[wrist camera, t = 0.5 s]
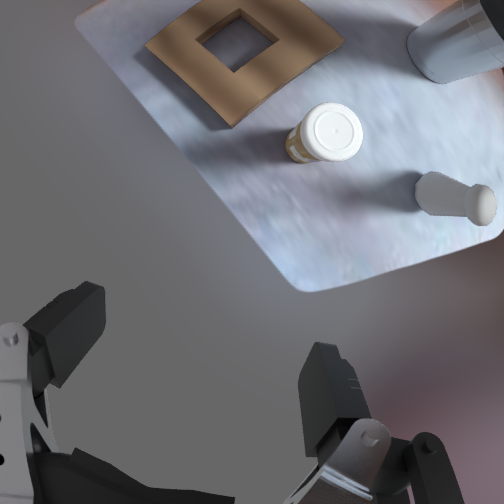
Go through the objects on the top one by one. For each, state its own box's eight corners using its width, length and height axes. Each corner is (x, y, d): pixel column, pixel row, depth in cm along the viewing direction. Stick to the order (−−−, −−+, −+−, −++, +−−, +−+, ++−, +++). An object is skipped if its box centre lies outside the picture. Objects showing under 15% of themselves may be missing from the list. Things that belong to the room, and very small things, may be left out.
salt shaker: (426, 220, 33) (486, 247, 20) (401, 194, 32) (463, 211, 19) (446, 189, 31) (509, 204, 19) (422, 161, 30) (487, 166, 18)
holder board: (254, -21, 23) (254, -30, 20) (339, 47, 26) (345, 40, 24) (151, 52, 27) (144, 45, 24) (232, 128, 30) (230, 125, 28)
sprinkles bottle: (291, 167, 31) (314, 168, 18) (279, 131, 30) (295, 108, 17) (327, 158, 31) (371, 154, 18) (316, 122, 29) (353, 96, 17)
